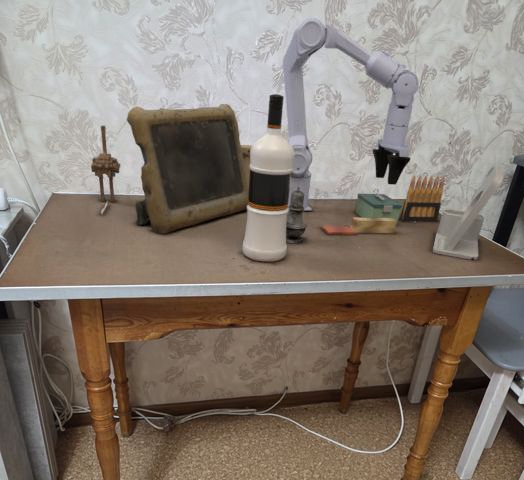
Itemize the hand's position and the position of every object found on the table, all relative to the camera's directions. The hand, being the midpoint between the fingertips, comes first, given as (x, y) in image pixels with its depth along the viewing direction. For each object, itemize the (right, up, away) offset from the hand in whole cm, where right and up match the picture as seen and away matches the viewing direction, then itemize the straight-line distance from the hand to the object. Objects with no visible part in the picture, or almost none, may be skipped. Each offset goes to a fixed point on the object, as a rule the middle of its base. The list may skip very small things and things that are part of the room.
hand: (385, 180), depth 129 cm
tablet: (-50, -12, -8) cm, 52 cm away
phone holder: (+14, -20, -12) cm, 27 cm away
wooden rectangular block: (-9, -16, -8) cm, 20 cm away
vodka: (-33, -26, -28) cm, 50 cm away
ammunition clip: (+11, -9, +5) cm, 15 cm away
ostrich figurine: (-73, -8, -5) cm, 74 cm away
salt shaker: (-26, -20, -17) cm, 37 cm away
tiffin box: (-2, -9, +4) cm, 10 cm away
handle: (-38, -4, +7) cm, 39 cm away
